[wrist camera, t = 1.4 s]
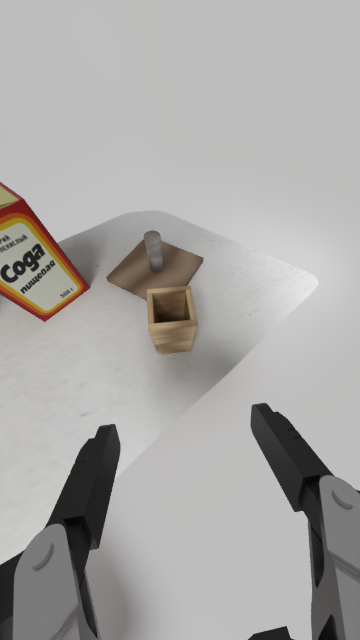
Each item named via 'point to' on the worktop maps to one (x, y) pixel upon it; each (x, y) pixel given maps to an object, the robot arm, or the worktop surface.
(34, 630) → the robot arm
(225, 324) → the worktop surface
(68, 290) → the baking soda box
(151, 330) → the wooden holder box
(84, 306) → the worktop surface
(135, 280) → the plate
